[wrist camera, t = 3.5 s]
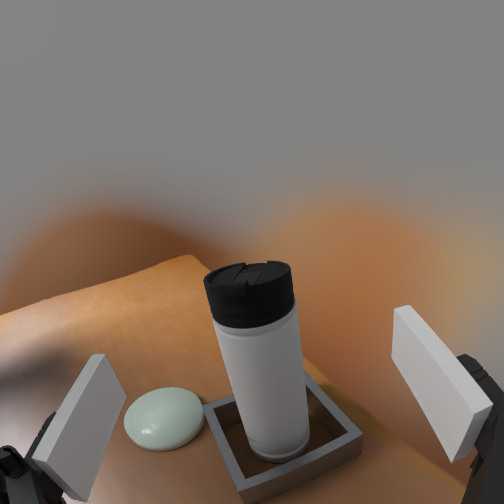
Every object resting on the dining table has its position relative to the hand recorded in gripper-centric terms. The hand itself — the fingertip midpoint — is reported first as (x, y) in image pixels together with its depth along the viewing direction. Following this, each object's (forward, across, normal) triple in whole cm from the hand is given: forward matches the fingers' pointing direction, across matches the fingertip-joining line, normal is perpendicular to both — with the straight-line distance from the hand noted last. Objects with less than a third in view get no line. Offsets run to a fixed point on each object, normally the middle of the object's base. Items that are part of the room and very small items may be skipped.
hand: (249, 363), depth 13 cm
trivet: (+15, -14, -19) cm, 28 cm away
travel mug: (+10, 0, -19) cm, 22 cm away
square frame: (+10, 0, -19) cm, 22 cm away
